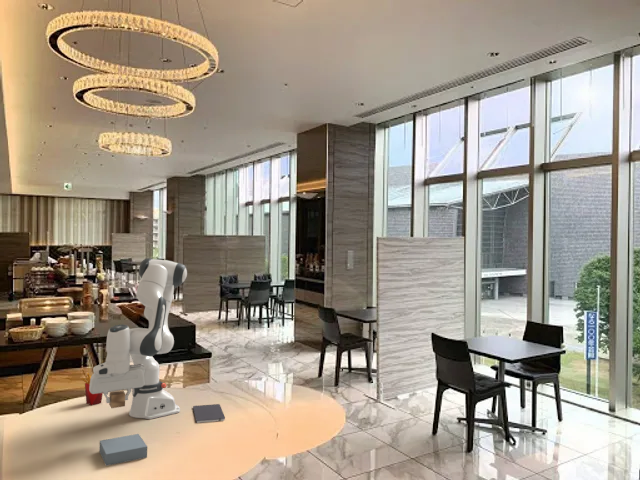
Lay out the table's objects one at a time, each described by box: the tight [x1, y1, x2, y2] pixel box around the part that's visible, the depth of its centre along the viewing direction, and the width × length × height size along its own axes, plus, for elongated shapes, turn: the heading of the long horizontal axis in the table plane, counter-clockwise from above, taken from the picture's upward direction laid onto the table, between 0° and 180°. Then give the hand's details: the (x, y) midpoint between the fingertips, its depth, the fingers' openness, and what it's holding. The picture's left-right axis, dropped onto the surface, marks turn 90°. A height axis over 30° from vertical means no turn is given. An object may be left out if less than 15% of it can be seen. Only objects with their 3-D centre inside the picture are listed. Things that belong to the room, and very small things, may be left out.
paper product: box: [192, 403, 226, 424], centre depth 225 cm, size 13×2×21 cm
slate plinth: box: [98, 433, 148, 467], centre depth 179 cm, size 14×14×4 cm
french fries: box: [81, 372, 104, 406], centre depth 235 cm, size 9×8×15 cm
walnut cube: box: [108, 390, 126, 409], centre depth 192 cm, size 5×5×5 cm
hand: (117, 401), depth 192 cm, fingers closed on walnut cube, 5 cm apart
